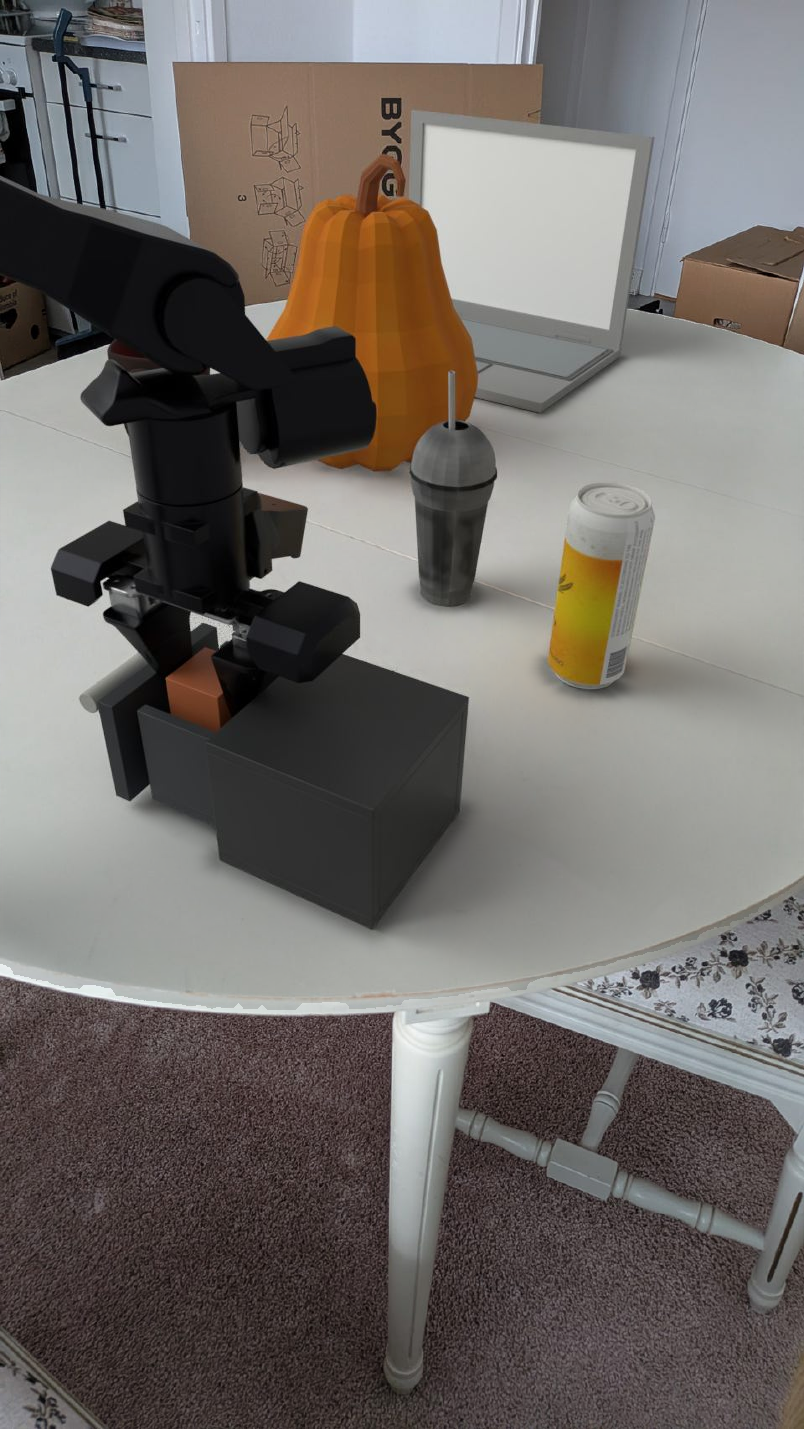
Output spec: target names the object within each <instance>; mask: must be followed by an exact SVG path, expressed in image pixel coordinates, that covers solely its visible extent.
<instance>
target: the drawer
mask: <svg viewBox="0 0 804 1429" xmlns="http://www.w3.org/2000/svg"><path fill="white" fill-rule="evenodd" d="M191 639H192V649H193V656H195V655H196V654H197V653H199V652H200V651H201V650H202V649H204V648H205V647H206V648H209V649H212V650H215V651H217V650H218V649H220V648H221V647H222V646H224V645H225V644H226V643H227V642H229V641H230V640H226V641H224V642H222V643H221V644H220V645H219V635H218V628H217V626H214V625H211V624H208V623H205V622H201V623H200V624H199V625H198V626H196V627H195V628H193V629H192V630H191ZM278 677H279V676H277V675H274V674H272V673H269V672H266V673H265V675H264V678H263V681H262V684H261V687H260V689H259V692H258V695H259V694H260V693H261V692H262V691H264V690H265V689H266V688H267V687H268V686H269V685H270V684H271V683H273V682H274V681H275V680H276V679H277V678H278ZM78 699H79V700H78V701H79V704H80V706H82V708H83V709H84V710H85V711H87V712H88V713H91V714H95V713H97V712H98V713H99V717H100V723H101V728H102V732H103V737H104V742H105V747H106V752H107V757H108V763H109V766H110V772H111V775H112V776H111V777H112V782H113V786H114V791H115V796H116V797H118V798H121V799H122V800H125V801H127V802H132V801H133V800H134V799H135V798H136V797H138V796H139V794H141V793H142V792H143V791H144V790H145V789H146V788H148V787H149V788H150V792H151V797H152V800H154V801H156V802H159V803H161V804H162V805H165V806H168V807H169V808H172V809H175V810H177V811H179V812H181V813H183V814H186V815H188V816H190V817H192V818H195V819H196V820H200V821H202V822H203V823H206V824H208V825H211V826H212V827H215V828H216V826H215V818H214V810H213V802H212V794H211V786H210V778H209V770H208V762H207V752H206V746H205V742H206V741H207V740H208V739H209V738H210V737H211V736H213V735H214V734H215V733H216V732H214V731H211V730H209V729H206V728H204V727H201V726H199V725H196V724H194V723H191V722H189V721H186V720H184V719H181V718H179V717H176V716H174V715H171V712H170V705H169V698H168V691H167V685H166V684H165V683H164V682H163V680H162V679H161V678H160V677H159V676H158V674H157V673H156V672H155V671H154V670H153V668H152V667H151V666H150V665H149V664H148V662H147V661H146V660H145V659H144V658H143V657H142V656H141V654H140V653H139V652H138V651H137V653H135V654H134V655H133V656H131V657H130V658H128V659H127V660H126V661H124V662H123V663H122V664H120V665H119V666H118V667H116V668H114V669H113V670H112V671H110V672H109V673H108V674H106V675H105V676H103V677H102V678H101V679H100V680H98V681H97V682H96V683H93V685H91V686H90V687H89V688H87V689H86V690H85V691H83V692H82V693H80V694H79V697H78Z"/></svg>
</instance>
